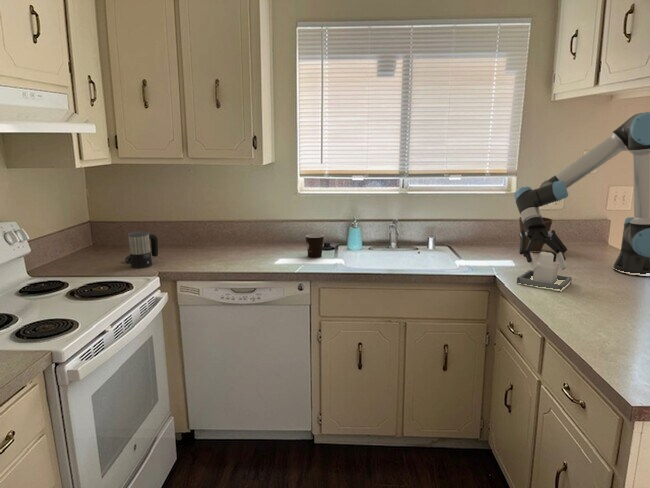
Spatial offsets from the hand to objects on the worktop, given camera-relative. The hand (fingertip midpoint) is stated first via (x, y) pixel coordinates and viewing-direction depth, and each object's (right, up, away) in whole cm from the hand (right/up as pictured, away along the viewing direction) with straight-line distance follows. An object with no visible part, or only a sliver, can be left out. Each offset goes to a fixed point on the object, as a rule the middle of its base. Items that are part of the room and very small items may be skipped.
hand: (549, 268), depth 185 cm
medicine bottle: (0, -5, +4) cm, 7 cm away
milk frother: (-169, 0, +35) cm, 173 cm away
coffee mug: (-90, +4, +49) cm, 102 cm away
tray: (0, -6, +4) cm, 7 cm away
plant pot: (+18, +6, +57) cm, 60 cm away
